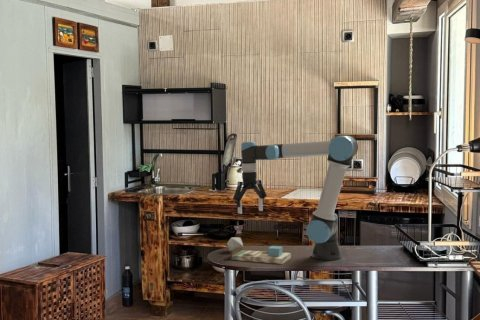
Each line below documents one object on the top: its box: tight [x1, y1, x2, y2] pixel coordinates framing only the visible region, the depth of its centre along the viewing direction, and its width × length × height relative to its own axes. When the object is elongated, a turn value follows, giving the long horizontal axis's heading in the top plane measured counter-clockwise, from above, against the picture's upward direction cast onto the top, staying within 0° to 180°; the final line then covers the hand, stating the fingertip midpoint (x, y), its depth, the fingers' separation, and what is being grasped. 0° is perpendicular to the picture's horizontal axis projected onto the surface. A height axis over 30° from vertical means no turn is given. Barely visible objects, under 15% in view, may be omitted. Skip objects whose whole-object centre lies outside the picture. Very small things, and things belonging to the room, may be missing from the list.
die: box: [226, 236, 244, 252], centre depth 297 cm, size 8×9×10 cm
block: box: [267, 245, 284, 257], centre depth 276 cm, size 6×6×4 cm
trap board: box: [229, 244, 292, 265], centre depth 279 cm, size 28×14×5 cm, turn 68°
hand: (250, 212), depth 281 cm, fingers open, 13 cm apart
